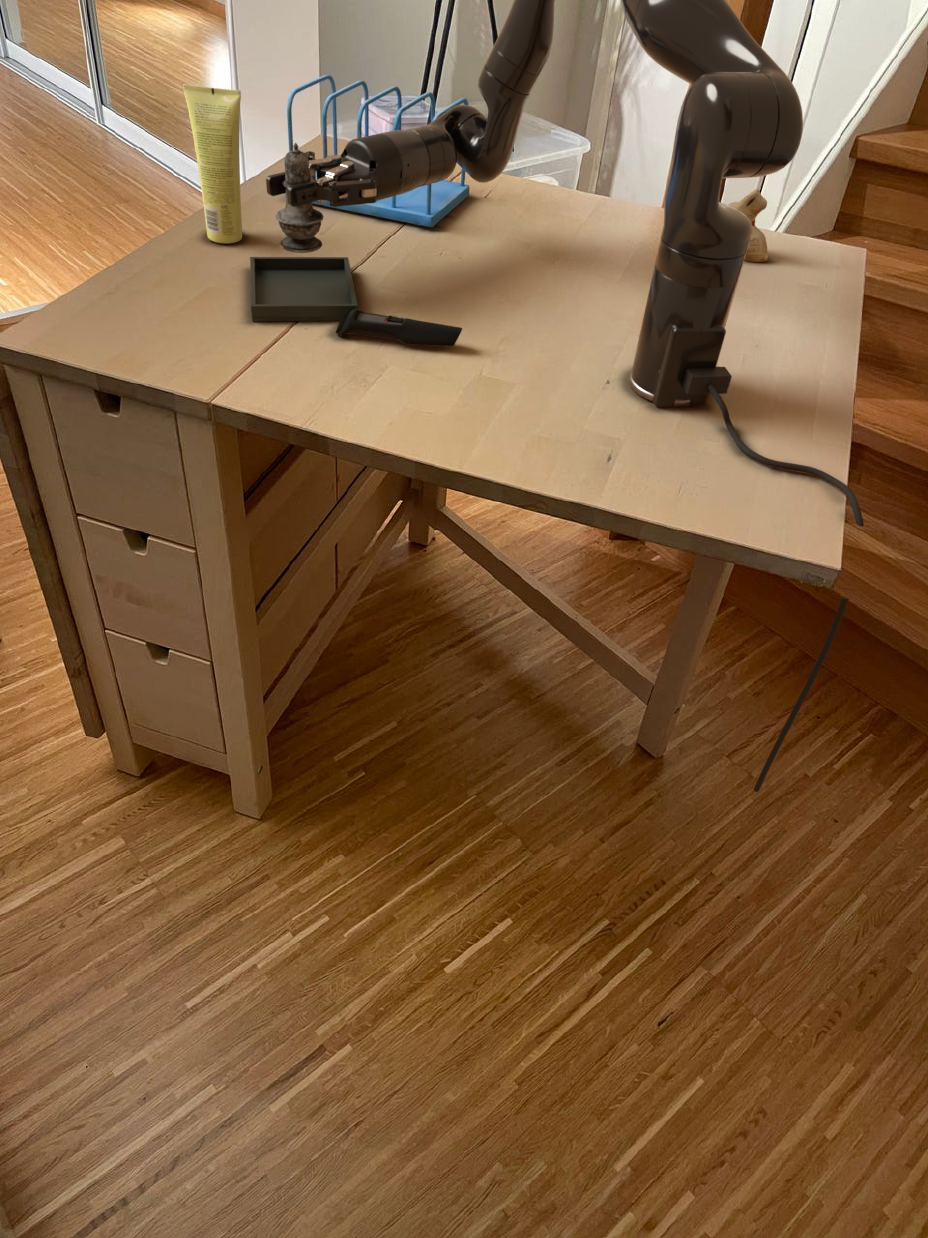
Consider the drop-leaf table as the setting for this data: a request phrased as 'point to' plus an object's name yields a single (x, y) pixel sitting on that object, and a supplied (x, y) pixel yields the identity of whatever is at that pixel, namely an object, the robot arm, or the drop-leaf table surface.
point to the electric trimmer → (397, 329)
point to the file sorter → (409, 207)
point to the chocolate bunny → (751, 209)
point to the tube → (217, 157)
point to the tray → (301, 288)
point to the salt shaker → (298, 209)
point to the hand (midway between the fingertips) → (279, 191)
